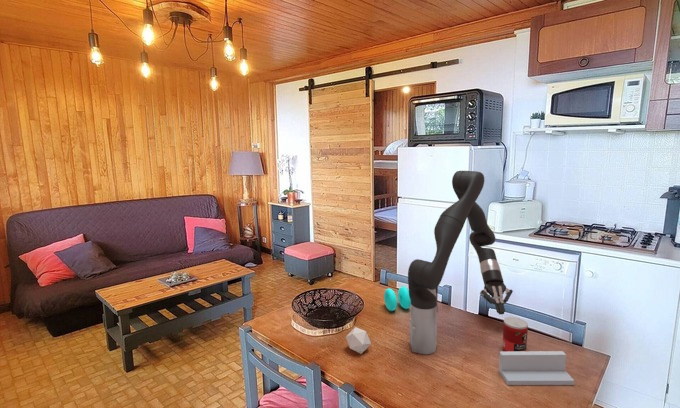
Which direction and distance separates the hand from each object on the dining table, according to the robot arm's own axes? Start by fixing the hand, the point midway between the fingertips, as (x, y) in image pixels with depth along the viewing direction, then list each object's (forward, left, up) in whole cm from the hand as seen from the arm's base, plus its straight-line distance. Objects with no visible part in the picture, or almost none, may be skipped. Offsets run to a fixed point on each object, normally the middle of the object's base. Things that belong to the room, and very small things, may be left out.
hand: (501, 313), depth 141 cm
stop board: (0, -27, -8) cm, 29 cm away
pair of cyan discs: (-38, +22, -8) cm, 45 cm away
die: (-56, -11, -8) cm, 58 cm away
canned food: (0, -12, -8) cm, 15 cm away
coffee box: (-24, +22, -8) cm, 33 cm away
